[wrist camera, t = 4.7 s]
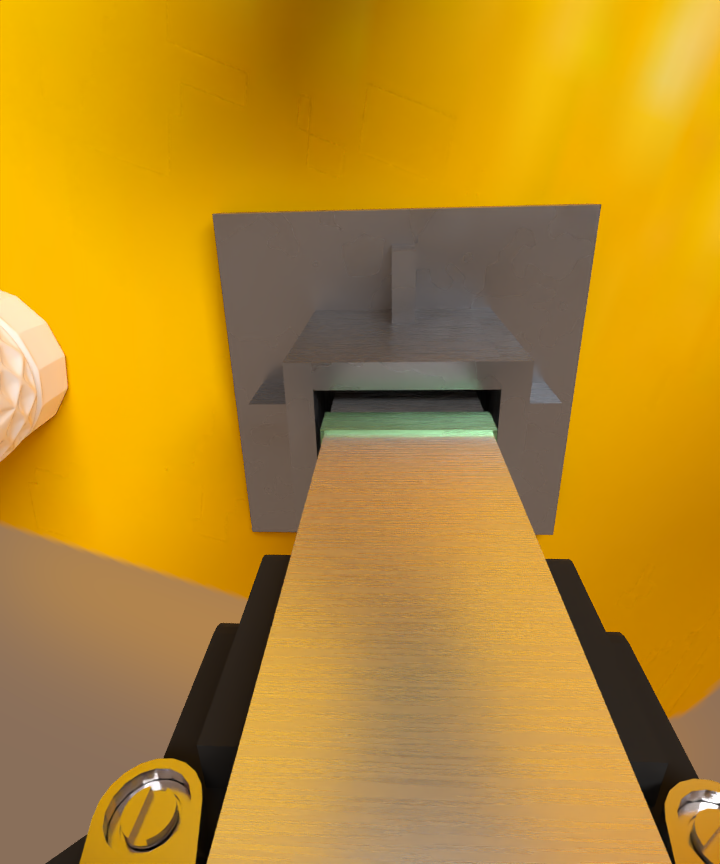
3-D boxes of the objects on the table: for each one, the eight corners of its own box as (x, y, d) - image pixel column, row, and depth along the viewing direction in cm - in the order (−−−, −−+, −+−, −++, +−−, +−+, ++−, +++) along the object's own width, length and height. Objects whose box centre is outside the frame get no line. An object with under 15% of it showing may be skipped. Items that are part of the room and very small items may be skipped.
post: (471, 360, 18) (789, 1040, 4) (464, 478, 20) (653, 1239, 6) (336, 361, 19) (133, 1000, 4) (341, 478, 21) (217, 1204, 6)
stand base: (591, 203, 20) (705, 212, 13) (547, 522, 26) (608, 653, 18) (220, 212, 21) (128, 225, 14) (257, 519, 27) (206, 644, 19)
